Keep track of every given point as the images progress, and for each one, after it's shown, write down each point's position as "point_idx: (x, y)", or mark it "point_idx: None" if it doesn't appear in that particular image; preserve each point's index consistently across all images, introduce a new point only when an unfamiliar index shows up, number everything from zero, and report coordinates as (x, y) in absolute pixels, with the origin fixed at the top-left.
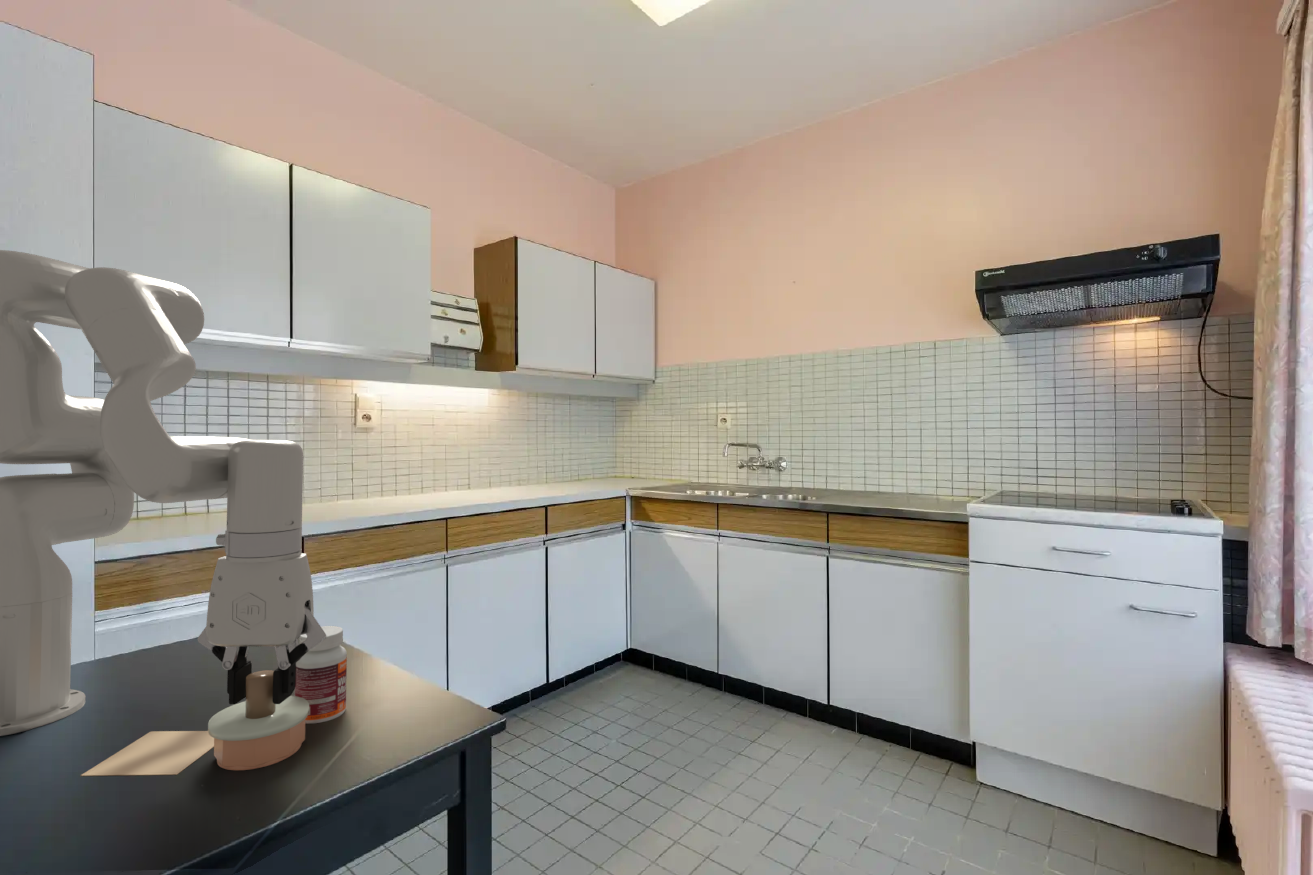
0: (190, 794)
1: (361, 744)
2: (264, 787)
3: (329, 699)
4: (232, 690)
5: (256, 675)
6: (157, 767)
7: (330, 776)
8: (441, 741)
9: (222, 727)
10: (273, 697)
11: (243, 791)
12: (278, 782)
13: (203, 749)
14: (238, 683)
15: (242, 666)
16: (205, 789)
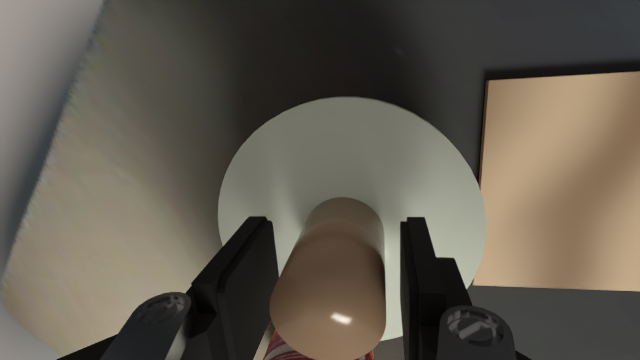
0: (401, 7)
1: (167, 226)
2: (251, 49)
3: (269, 355)
4: (414, 237)
5: (344, 311)
6: (564, 112)
7: (146, 100)
8: (33, 232)
9: (402, 139)
10: (261, 226)
11: (286, 29)
12: (235, 71)
13: (495, 199)
14: (404, 269)
15: (417, 350)
16: (379, 32)
